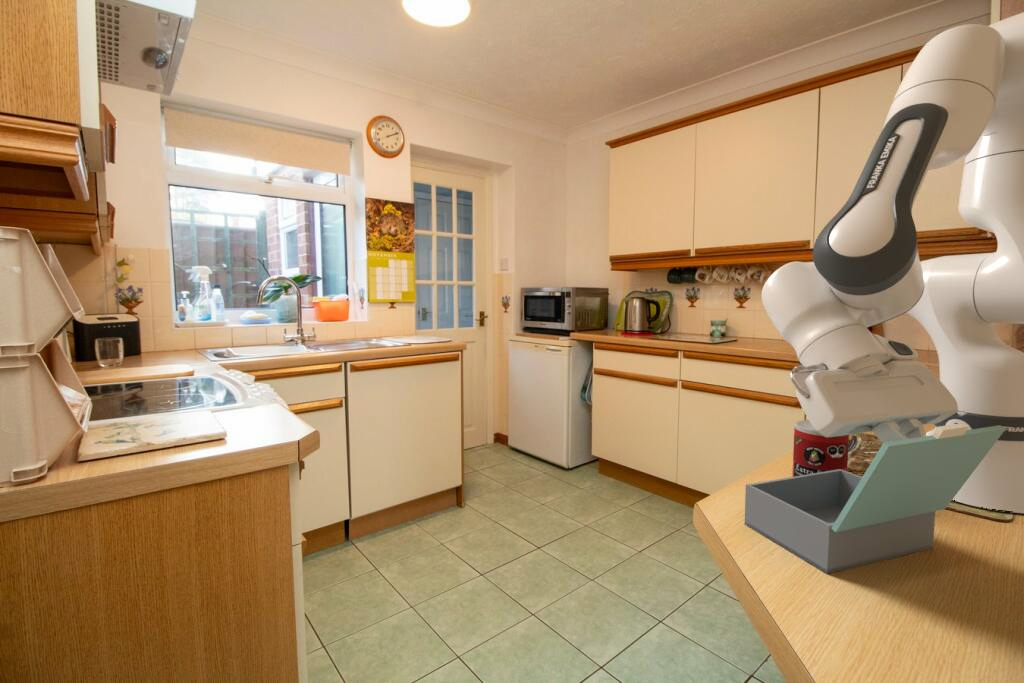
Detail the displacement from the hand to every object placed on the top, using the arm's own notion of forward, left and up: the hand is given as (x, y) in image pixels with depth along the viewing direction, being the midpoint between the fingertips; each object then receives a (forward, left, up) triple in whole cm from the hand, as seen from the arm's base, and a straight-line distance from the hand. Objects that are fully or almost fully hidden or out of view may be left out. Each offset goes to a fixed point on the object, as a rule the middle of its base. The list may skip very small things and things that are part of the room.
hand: (922, 460), depth 54 cm
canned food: (-12, -23, -14) cm, 30 cm away
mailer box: (0, -10, -14) cm, 18 cm away
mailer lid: (0, 0, -2) cm, 2 cm away
